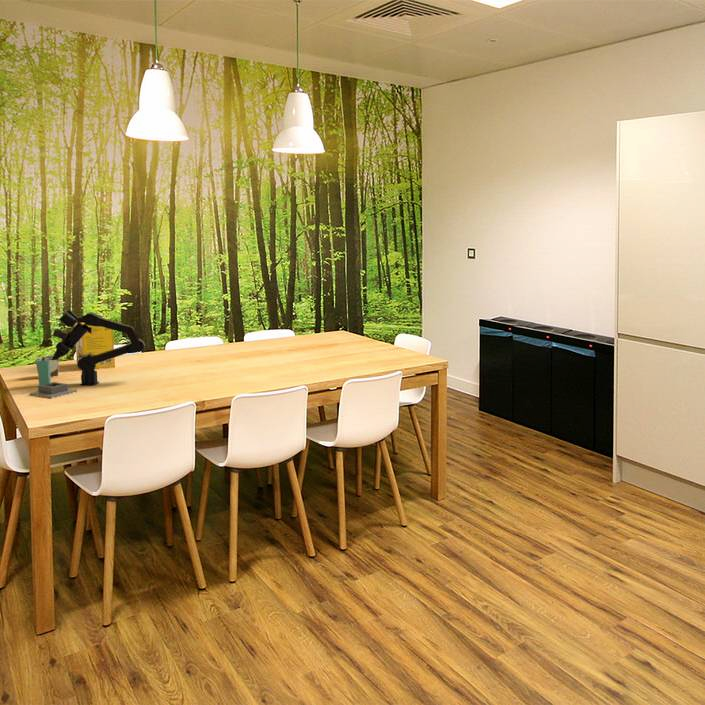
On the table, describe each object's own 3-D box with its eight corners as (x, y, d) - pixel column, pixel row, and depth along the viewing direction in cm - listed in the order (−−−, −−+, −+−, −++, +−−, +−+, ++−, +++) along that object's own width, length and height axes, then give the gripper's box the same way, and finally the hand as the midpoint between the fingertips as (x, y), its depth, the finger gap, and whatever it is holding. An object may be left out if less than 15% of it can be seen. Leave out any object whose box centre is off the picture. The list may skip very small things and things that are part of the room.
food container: (54, 373, 356) (53, 354, 354) (60, 375, 352) (59, 356, 350) (31, 377, 346) (29, 358, 344) (37, 379, 342) (35, 359, 341)
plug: (51, 384, 332) (48, 356, 329) (49, 386, 327) (47, 358, 325) (41, 385, 331) (39, 356, 328) (39, 387, 326) (37, 358, 324)
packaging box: (77, 365, 377) (73, 320, 373) (107, 362, 386) (104, 318, 381) (83, 370, 364) (80, 323, 359) (115, 367, 372) (112, 321, 368)
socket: (55, 388, 324) (55, 380, 323) (76, 391, 318) (76, 383, 317) (30, 394, 312) (29, 386, 311) (51, 398, 306) (50, 389, 305)
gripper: (66, 320, 335) (44, 343, 335) (58, 325, 317) (35, 350, 317) (85, 335, 338) (63, 358, 338) (78, 341, 320) (55, 366, 320)
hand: (54, 358), depth 328 cm, fingers open, 9 cm apart
